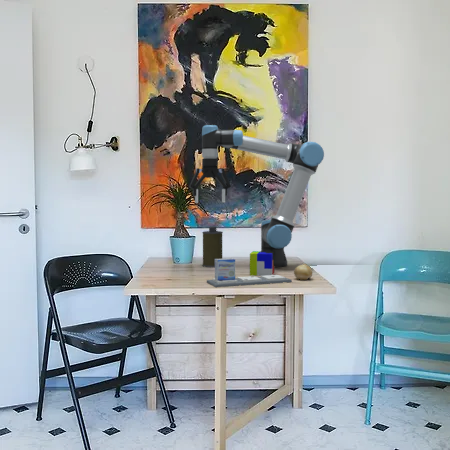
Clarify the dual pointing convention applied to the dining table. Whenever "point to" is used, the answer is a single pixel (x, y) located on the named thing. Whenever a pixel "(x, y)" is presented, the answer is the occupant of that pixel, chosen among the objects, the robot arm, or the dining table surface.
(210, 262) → the canister
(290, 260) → the dining table surface
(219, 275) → the medicine box
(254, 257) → the puzzle toy
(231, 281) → the digit board
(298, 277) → the onion
